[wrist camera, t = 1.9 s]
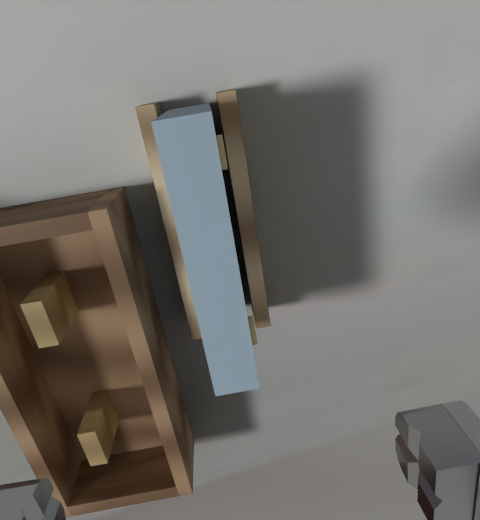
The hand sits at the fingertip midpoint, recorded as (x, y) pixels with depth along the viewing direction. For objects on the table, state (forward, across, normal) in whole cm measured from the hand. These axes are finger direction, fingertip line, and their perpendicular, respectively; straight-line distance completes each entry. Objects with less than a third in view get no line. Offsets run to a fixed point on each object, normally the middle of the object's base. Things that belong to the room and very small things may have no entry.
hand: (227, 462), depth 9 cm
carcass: (+19, +10, +8) cm, 23 cm away
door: (+19, 0, 0) cm, 19 cm away
